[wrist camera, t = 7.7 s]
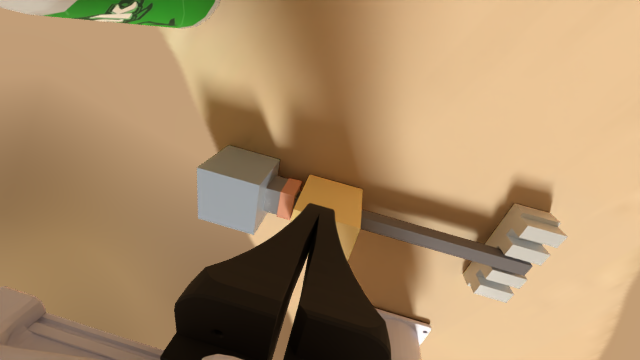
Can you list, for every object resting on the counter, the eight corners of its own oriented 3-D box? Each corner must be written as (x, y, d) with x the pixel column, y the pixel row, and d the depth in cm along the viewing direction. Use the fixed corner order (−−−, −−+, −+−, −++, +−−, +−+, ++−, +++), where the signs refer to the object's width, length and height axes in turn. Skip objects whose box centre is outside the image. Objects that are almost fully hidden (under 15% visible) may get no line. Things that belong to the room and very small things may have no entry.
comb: (492, 282, 26) (503, 305, 24) (462, 274, 26) (471, 295, 24) (550, 212, 22) (571, 232, 19) (514, 203, 22) (531, 221, 19)
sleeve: (350, 223, 25) (345, 266, 20) (301, 208, 25) (285, 248, 20) (362, 189, 23) (360, 228, 18) (309, 174, 23) (293, 209, 18)
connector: (288, 207, 26) (271, 240, 22) (226, 189, 26) (198, 218, 22) (296, 164, 24) (279, 191, 19) (228, 145, 24) (196, 167, 19)
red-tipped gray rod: (525, 244, 22) (542, 266, 20) (508, 264, 24) (523, 287, 21) (275, 174, 24) (265, 187, 21) (272, 197, 25) (262, 212, 23)
